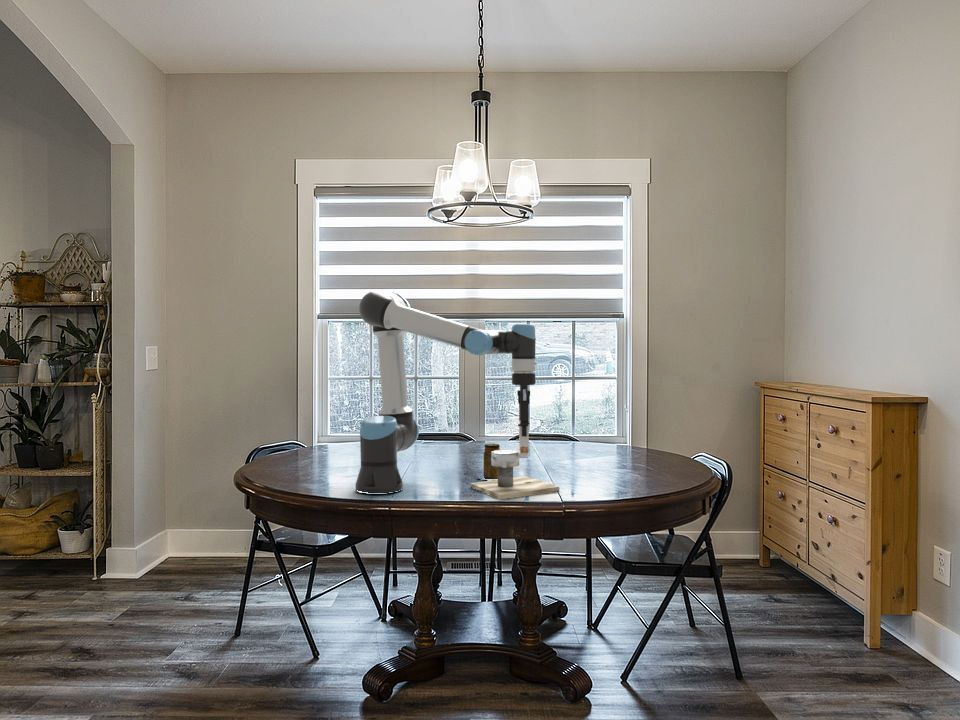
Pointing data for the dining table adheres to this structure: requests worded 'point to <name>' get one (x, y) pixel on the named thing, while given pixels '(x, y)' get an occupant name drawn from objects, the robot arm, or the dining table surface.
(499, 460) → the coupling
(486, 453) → the condiment
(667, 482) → the dining table surface
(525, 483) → the post base
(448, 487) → the dining table surface
